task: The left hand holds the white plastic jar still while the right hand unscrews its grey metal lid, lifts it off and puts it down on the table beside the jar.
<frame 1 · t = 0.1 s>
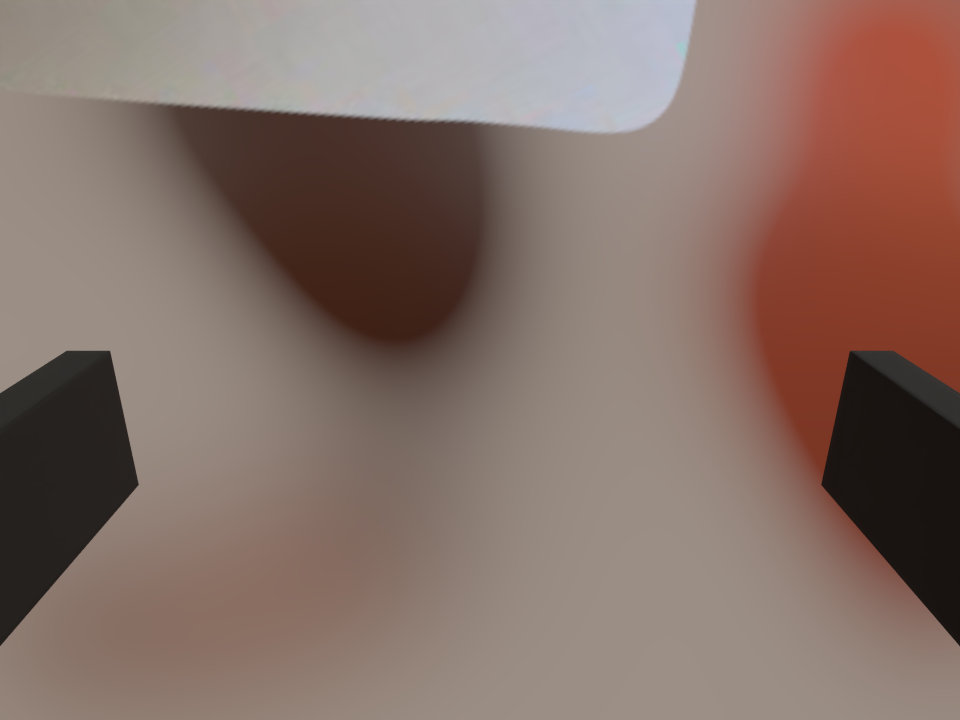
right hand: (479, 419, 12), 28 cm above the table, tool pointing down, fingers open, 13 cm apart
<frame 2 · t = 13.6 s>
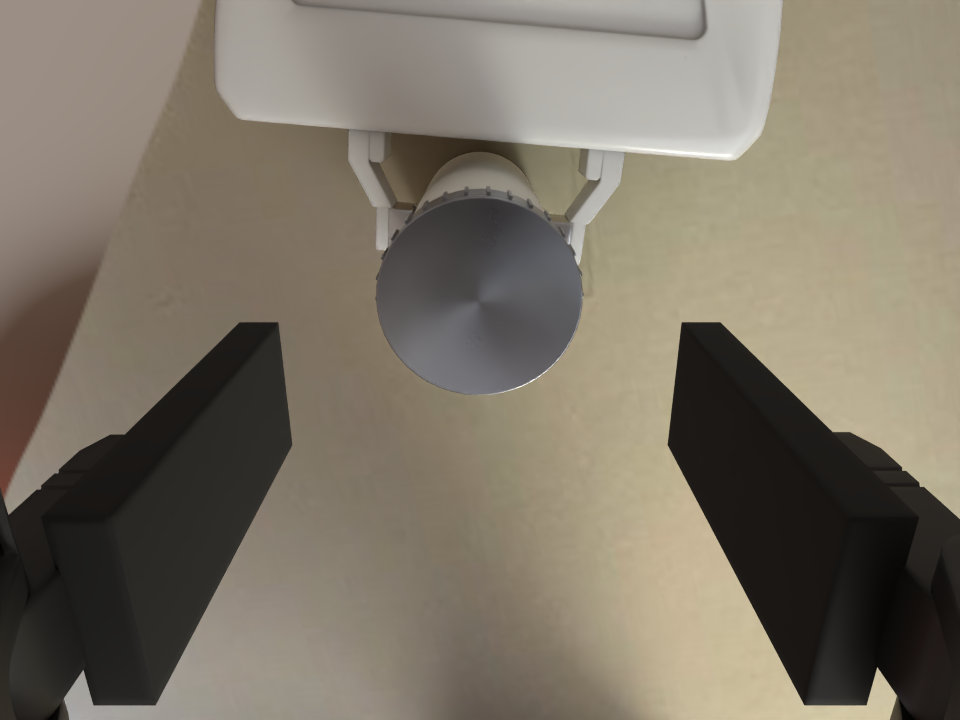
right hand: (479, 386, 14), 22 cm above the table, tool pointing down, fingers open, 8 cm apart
left hand: (479, 255, 28), fingers closed on jar, 5 cm apart
jar: (479, 209, 34), on the table, touching left hand
lid: (479, 298, 20), point 15 cm above the table, screwed on, not yet turned
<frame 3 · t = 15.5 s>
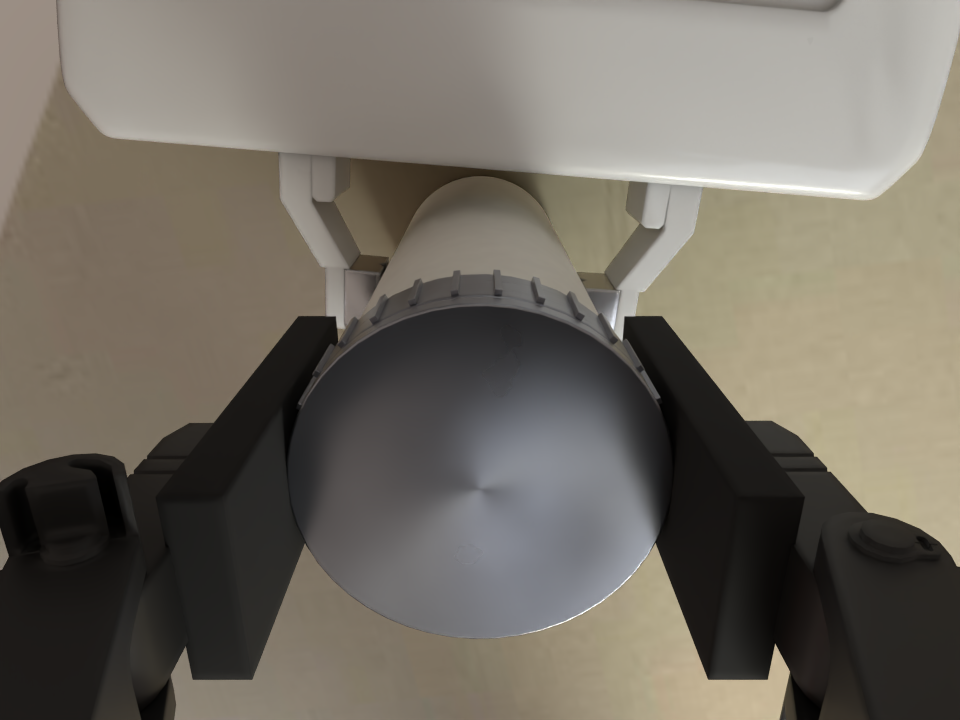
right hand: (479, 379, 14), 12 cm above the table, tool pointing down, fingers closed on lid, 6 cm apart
left hand: (479, 333, 19), fingers closed on jar, 5 cm apart
jar: (480, 253, 25), on the table, touching left hand
lid: (480, 477, 11), point 15 cm above the table, screwed on, not yet turned, touching right hand
when the right hand's fingers open (12 cm above the table, at t = 17.0 s): lid stays where it is, point 16 cm above the table.
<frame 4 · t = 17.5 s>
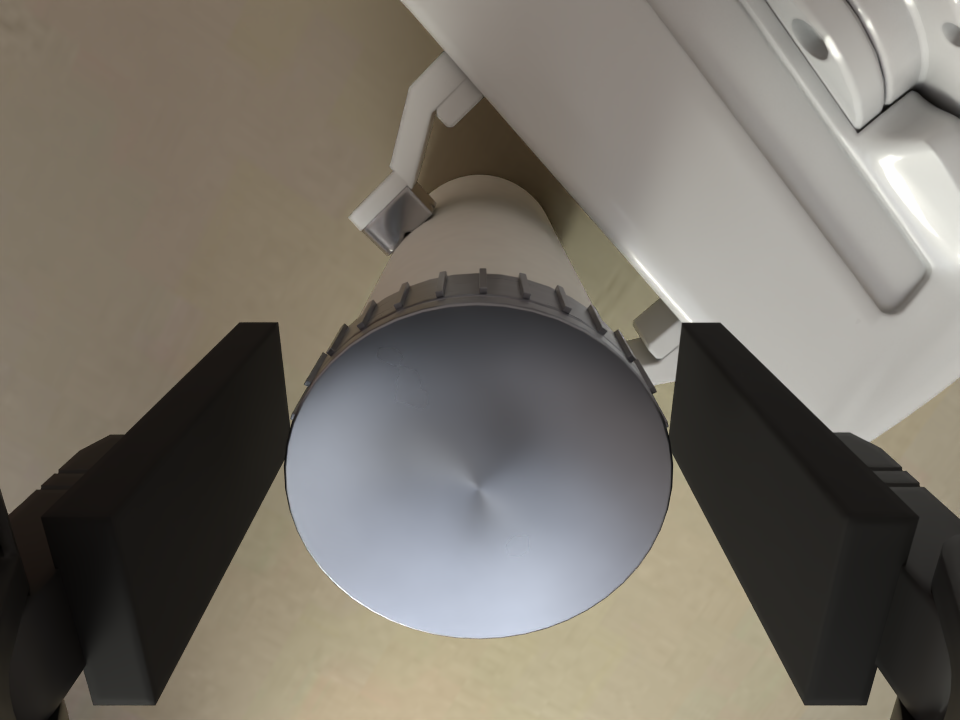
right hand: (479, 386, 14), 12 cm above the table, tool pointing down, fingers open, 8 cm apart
jar: (479, 251, 25), on the table, touching left hand
lid: (478, 476, 11), point 16 cm above the table, turned 82° so far, risen 0.2 cm, still on its thread
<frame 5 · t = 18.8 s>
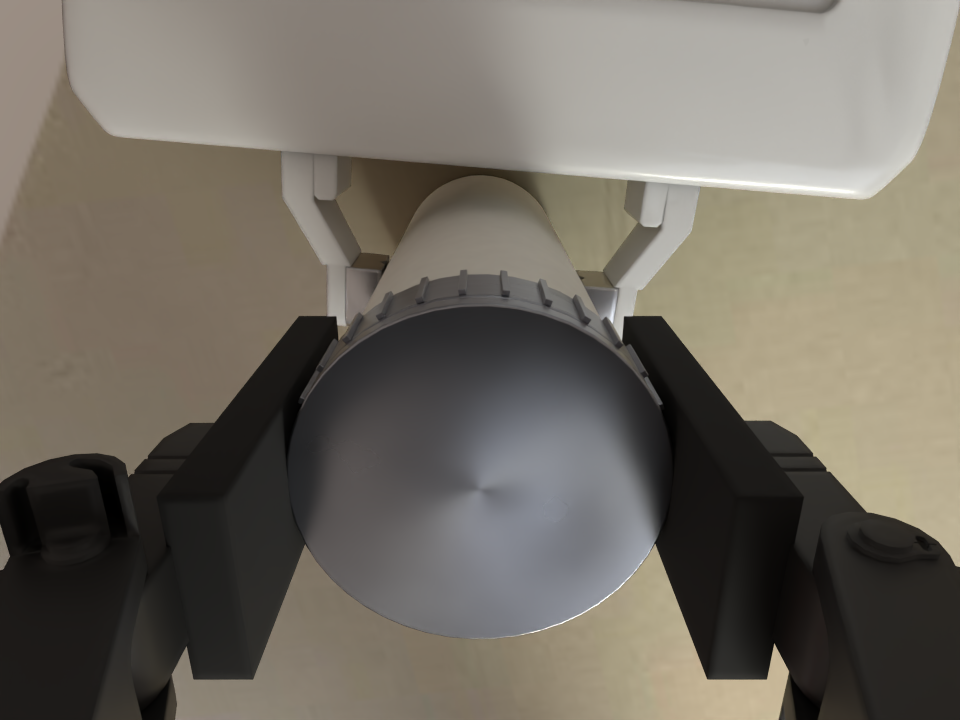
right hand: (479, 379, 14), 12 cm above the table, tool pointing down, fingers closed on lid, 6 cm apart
left hand: (479, 330, 20), fingers closed on jar, 5 cm apart
jar: (480, 251, 25), on the table, touching left hand
lid: (480, 477, 11), point 16 cm above the table, turned 82° so far, risen 0.2 cm, still on its thread, touching right hand
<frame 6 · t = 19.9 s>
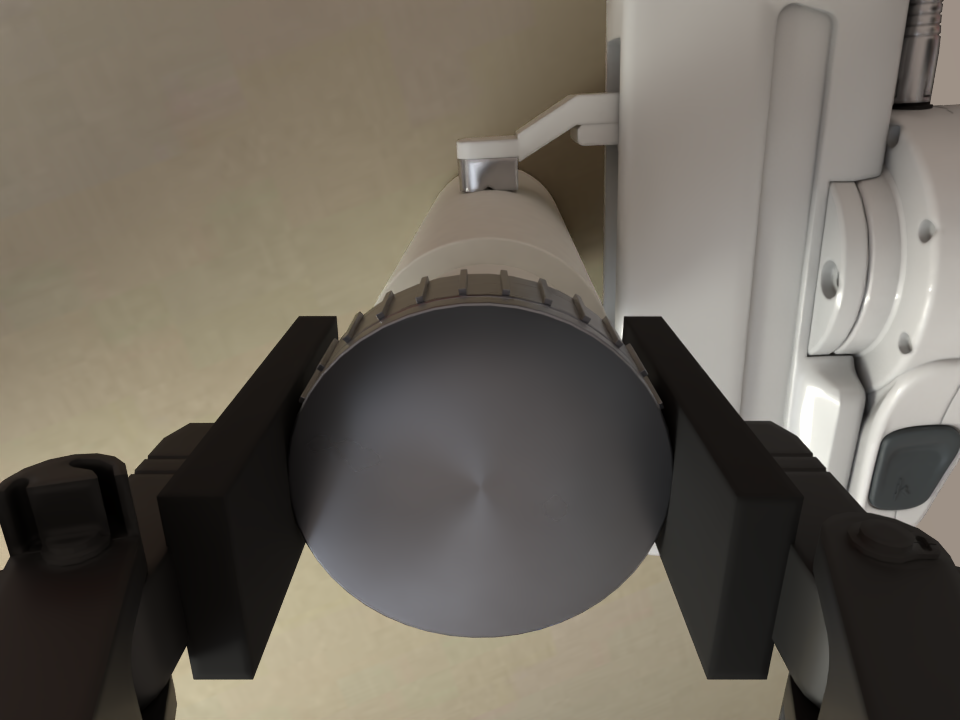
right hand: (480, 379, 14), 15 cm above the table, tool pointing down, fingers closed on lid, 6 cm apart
left hand: (465, 275, 22), fingers closed on jar, 5 cm apart
jar: (494, 234, 28), on the table, touching left hand
lid: (480, 476, 11), point 19 cm above the table, off its thread, touching right hand
when the right hand's fingers open (1 cm above the table, at t = 23.8 s): lid drops 3 cm, point 1 cm above the table.
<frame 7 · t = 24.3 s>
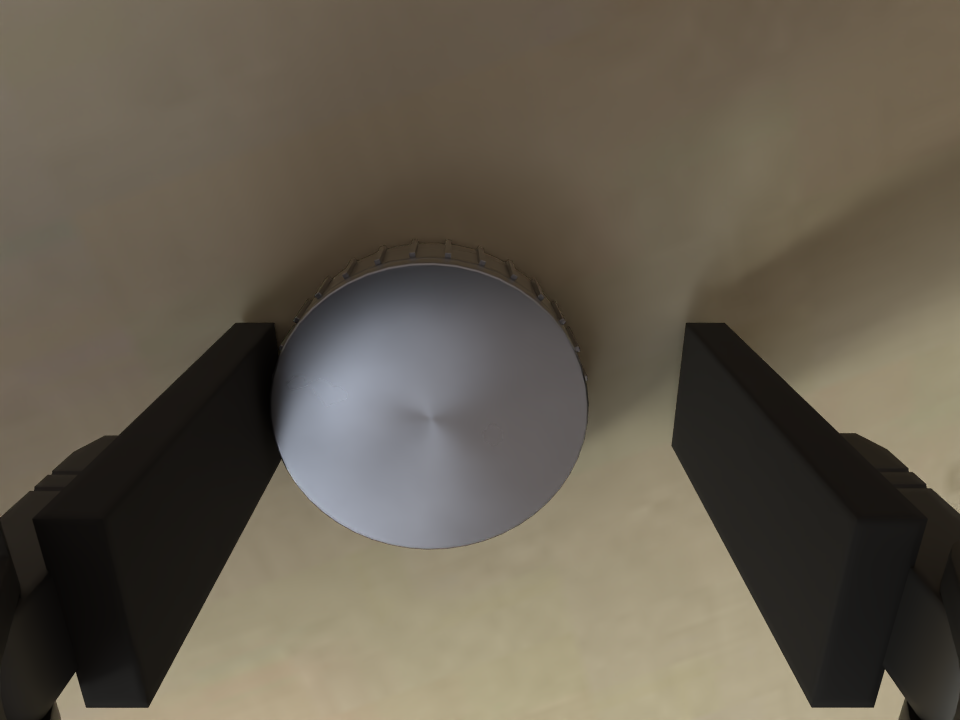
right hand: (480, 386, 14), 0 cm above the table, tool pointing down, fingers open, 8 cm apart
lid: (431, 410, 13), point 1 cm above the table, off its thread
when the left hand's fingers open (6 cm above the table, at t = 25.7 s): jar stays where it is, on the table.
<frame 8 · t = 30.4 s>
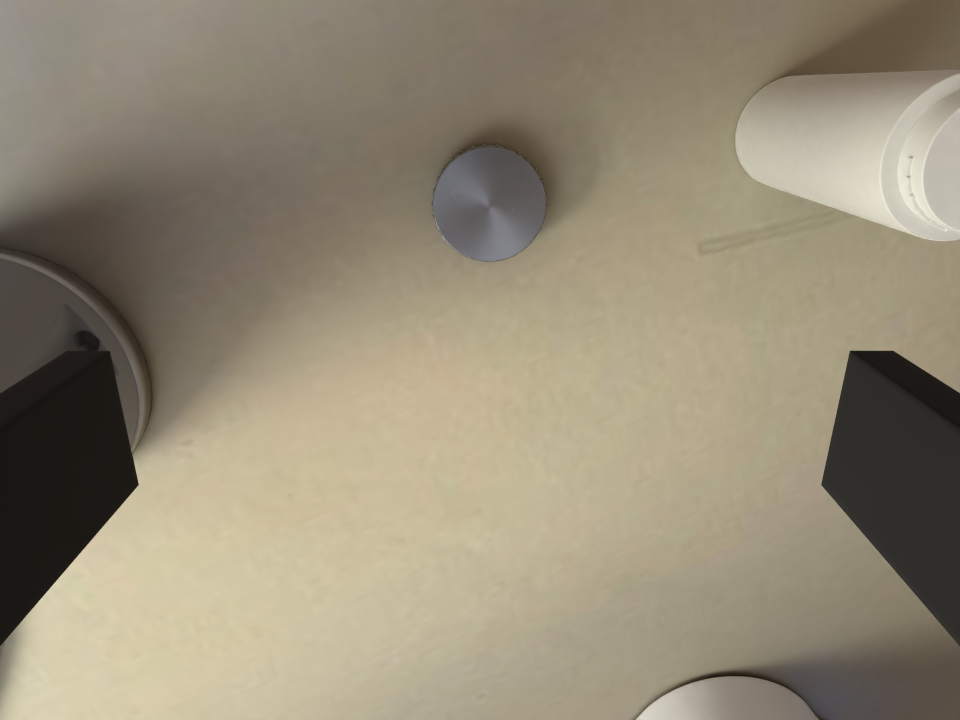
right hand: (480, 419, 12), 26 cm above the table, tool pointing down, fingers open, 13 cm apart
jar: (788, 132, 35), on the table
lid: (489, 205, 35), point 1 cm above the table, off its thread
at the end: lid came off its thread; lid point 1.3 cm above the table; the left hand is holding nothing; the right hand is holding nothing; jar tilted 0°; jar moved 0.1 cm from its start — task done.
